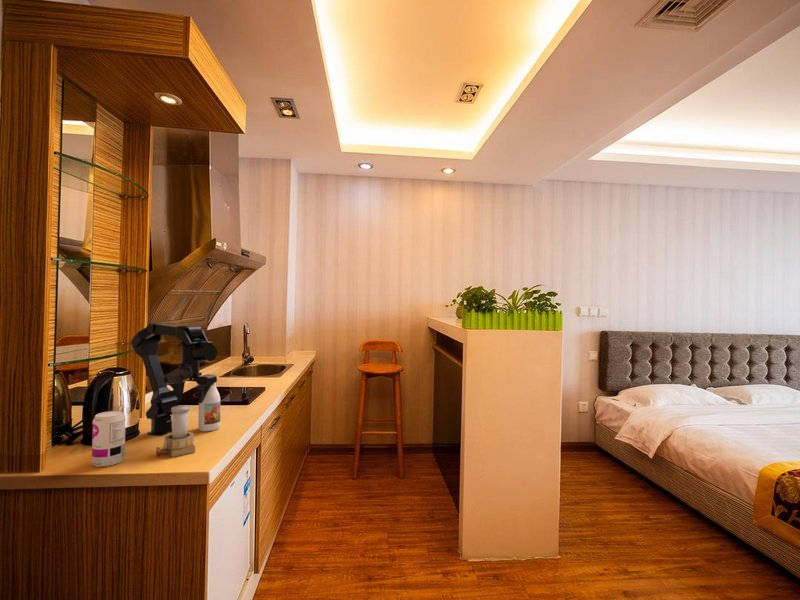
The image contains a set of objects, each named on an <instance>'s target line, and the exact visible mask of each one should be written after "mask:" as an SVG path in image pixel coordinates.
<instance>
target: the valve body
mask: <svg viewBox="0 0 800 600" xmlns="http://www.w3.org/2000/svg"><path fill="white" fill-rule="evenodd" d="M194 435H195V434H194V433H193V432H192V431H187V437H185V438H180V439H172V433H169V434H167V435H166V436H165V437H164V442H163V448H162V449H161V447H160V446H156V447H155V454H156V456H158V457H161V453H167V454H169V455H170V456H169V455H168V456H169V457H170V458H171V459H172V457H173V458H177V457H181V455H182V456H185V454H186V455H190V454H194V453H193V452H195V453H196V445H194V443H195V442H194V441H195V440H194V439H195V436H194ZM189 453H190V454H189ZM176 456H177V457H176Z"/></svg>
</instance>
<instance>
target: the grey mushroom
mask: <svg viewBox="0 0 800 600" xmlns="http://www.w3.org/2000/svg"><path fill="white" fill-rule="evenodd" d="M189 411H190V406H189V405H186V404H185V405H184V404H183V405H182V404H181V405H179V404H178V406H174V407H172V408H171V412H172V415H171V420H172V432H171V434H172V439H180V438H185V437H187V432H188V420H189V416H188V415H189Z"/></svg>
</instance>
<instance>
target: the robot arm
mask: <svg viewBox="0 0 800 600" xmlns="http://www.w3.org/2000/svg"><path fill="white" fill-rule="evenodd" d="M163 335H165V336H168V337H169V336H171V337H175V339H177V340H179V341H181V342H179V343H178V344H177V347H178V348H181V362H178V365H177V368H176V369H174V370H171V372H169V373H167V374H165V375H164V373H163V370H162V366H161V363H160V361H159V360H160V359H159V356H158V350H159V348H160V345H159V342H160V341H161V340H162V339H163ZM130 344H131V346H132V348H133V351H134V353H135V354H136V355H137V356H139V357H140V358H141V359H142V362H143V365H144V368H145V372H146V375H147V378H148V381H149V384H150V388H151V391H152V396H151V397H150V405H151V406H150V407H149V408H148V409H147V410H146V412H145V416H146V419H148V420H149V419H150V420H151V422H150V423H151V424H150V427H151V428H150V429H151V431H149V432H147V435H151V436H152V435H153V436H161V437H162V436H163V435H164V436H165V435H166V434H167V435H168V434H170V433H172V412H171V408H172V407H174V406H179V403H181V402H182V400H183V395H184V391H185V384H186V382H196V384H197V385H195V387H196V388H197V390H198V404H199V403H202V402H203V400H204V398H205V396H206V394H207V392H208V390H209V389H210V387H211V385H214V383H216V384H217V382H218V381H217V380H218V377H217V375H216V374H209V373H208V374H207V373H206V374H203V373H202V372H200V365H203V361H205V362H206V361H207V362H212V361H214V360H216V358H217V357H218V352H219V351H218V348H217V347H216V346H215V345H214V344H213V341H209V340H208V337H206V334H205V331H204V330H203V329H202V325H199V324H193V325H192V324H190V325H176V324H169V323H163V322H151V323H149V324H147V325H146V327H145V328H142V329H141V330H139V331H138V332H136V334H135V335H134V336H133V337H132V339H131V341H130ZM202 374H203V375H202ZM168 386H169V387H170V388H172V390H171V389H170V388H168Z"/></svg>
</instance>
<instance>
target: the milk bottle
mask: <svg viewBox="0 0 800 600" xmlns="http://www.w3.org/2000/svg"><path fill="white" fill-rule="evenodd" d="M216 384H217V382H216V383H214V385H211V387H210V389H209V390H208V392H207V394H206V396H205V398H204V400H203V402H202V403H199V402H198V420H197V421H198V431H200V432H205V433H206V432H213V431H216V430H218V429H220V428H221V396H220V395H221V394H220V393H219V391H218V388H217V385H216Z"/></svg>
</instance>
